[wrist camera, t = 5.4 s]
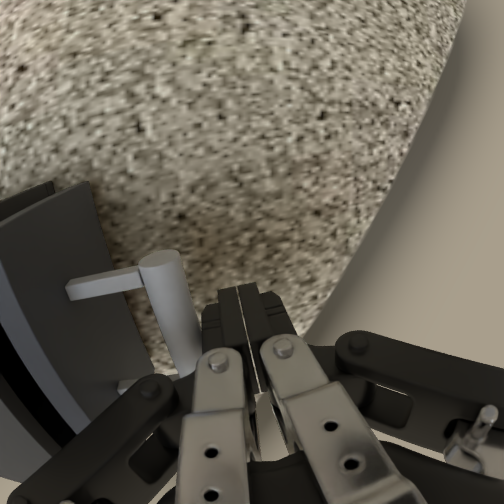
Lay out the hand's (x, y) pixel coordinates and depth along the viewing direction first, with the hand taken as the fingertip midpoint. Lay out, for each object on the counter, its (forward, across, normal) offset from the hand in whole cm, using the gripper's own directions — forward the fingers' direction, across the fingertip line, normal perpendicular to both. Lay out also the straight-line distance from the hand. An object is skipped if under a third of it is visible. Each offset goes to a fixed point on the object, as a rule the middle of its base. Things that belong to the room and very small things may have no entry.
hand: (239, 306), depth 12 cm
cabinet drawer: (+4, +10, 0) cm, 11 cm away
